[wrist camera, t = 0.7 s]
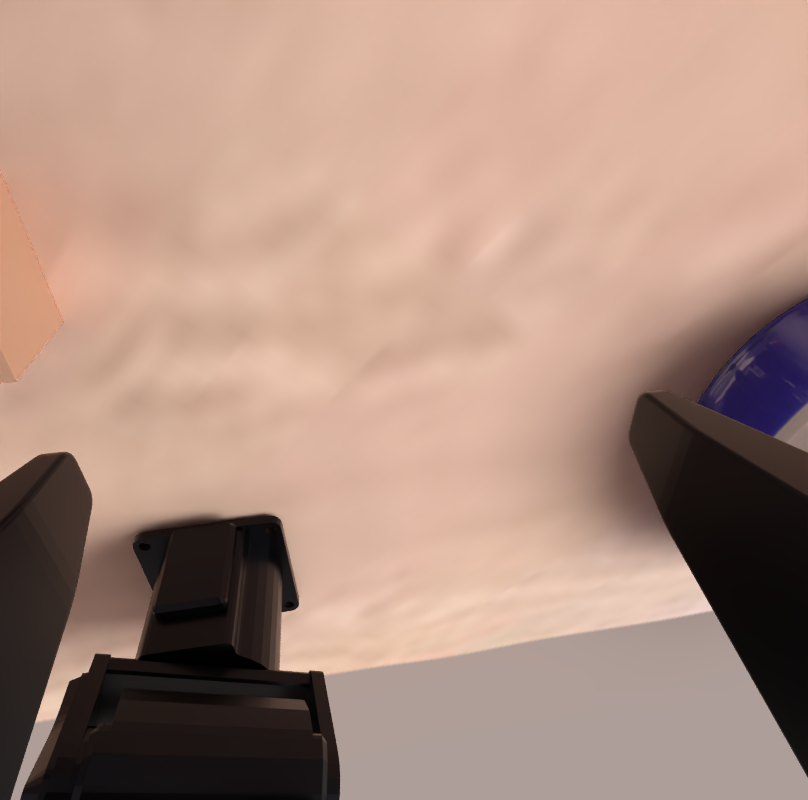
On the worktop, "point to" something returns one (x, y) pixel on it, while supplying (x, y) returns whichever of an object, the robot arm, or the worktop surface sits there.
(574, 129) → the worktop surface
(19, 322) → the light brown block
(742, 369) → the dog bowl
